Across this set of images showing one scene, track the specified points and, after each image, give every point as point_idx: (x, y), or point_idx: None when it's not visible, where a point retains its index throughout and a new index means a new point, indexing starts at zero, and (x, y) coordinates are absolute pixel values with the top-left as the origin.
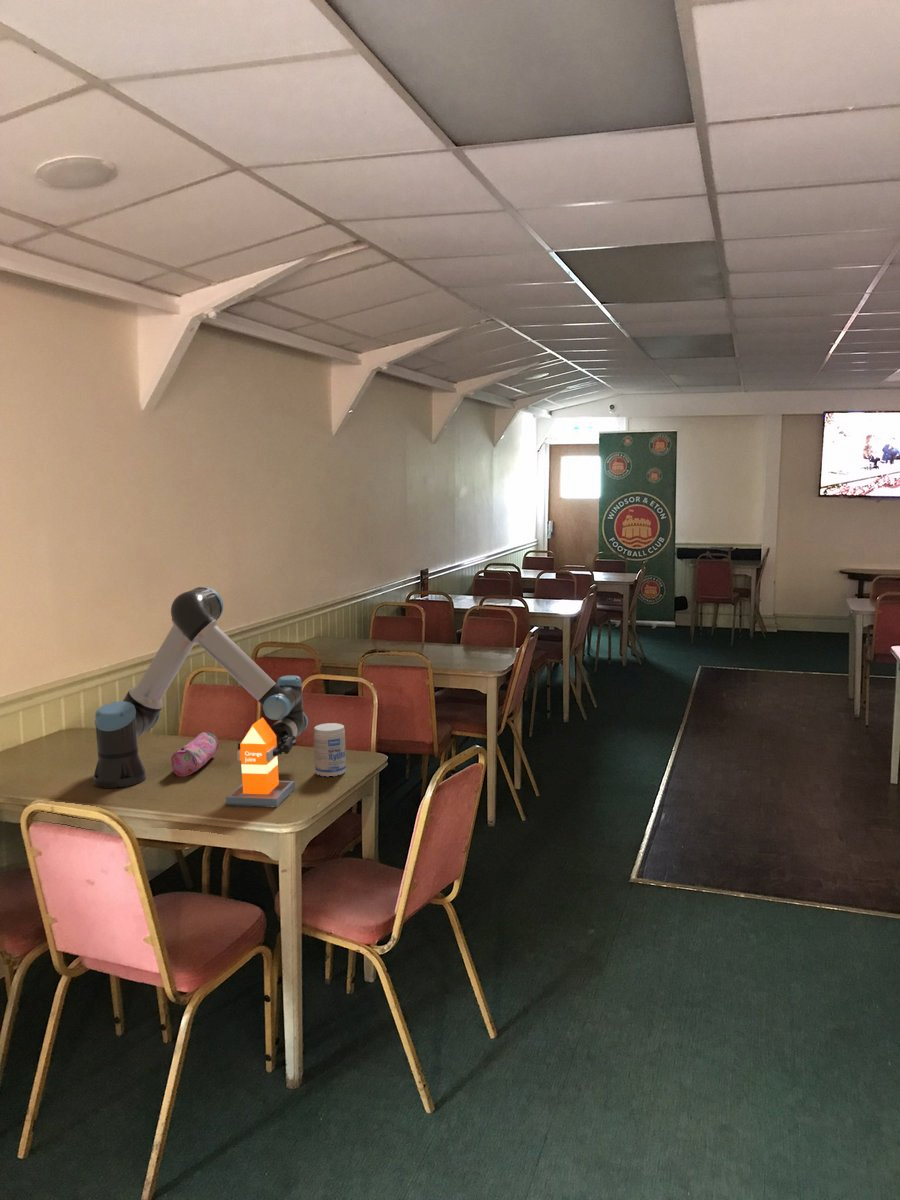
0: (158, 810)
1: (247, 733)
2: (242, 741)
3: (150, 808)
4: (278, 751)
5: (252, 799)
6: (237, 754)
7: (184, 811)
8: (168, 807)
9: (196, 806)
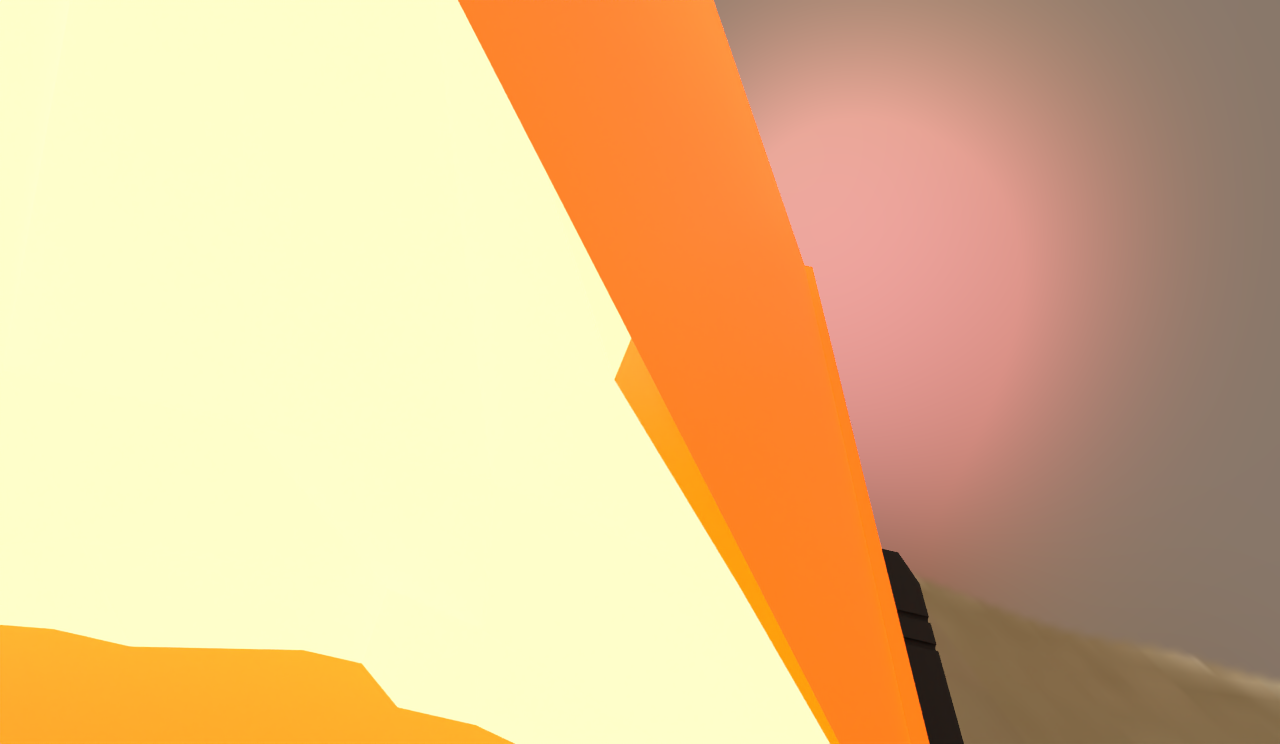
0: (1169, 668)
1: (724, 37)
2: (794, 239)
3: (1262, 714)
4: None
5: None
6: None
7: (986, 627)
8: (1160, 718)
9: (976, 713)
